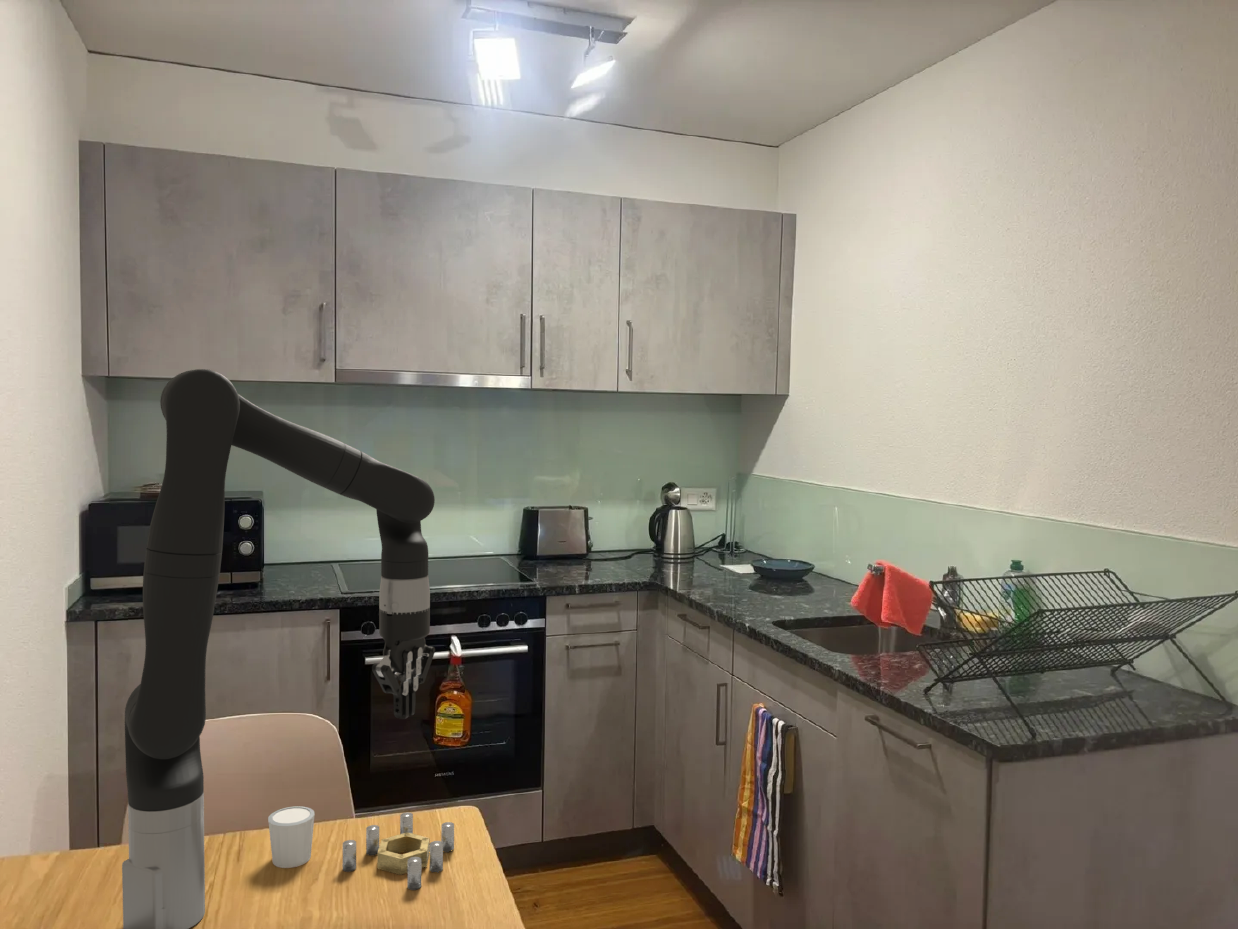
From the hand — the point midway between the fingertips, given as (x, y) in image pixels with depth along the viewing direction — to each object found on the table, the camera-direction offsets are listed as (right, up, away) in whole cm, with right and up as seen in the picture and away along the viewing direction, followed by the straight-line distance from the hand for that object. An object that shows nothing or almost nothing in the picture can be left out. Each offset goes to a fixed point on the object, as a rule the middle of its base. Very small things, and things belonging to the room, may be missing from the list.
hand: (404, 716), depth 141 cm
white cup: (-18, -23, +2) cm, 29 cm away
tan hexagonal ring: (0, -23, +2) cm, 23 cm away
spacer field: (0, -23, +2) cm, 23 cm away
